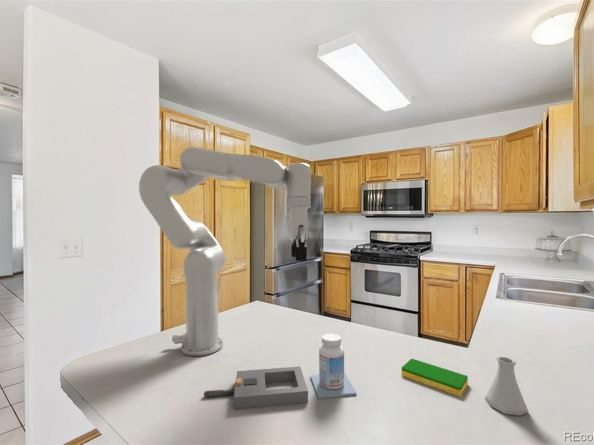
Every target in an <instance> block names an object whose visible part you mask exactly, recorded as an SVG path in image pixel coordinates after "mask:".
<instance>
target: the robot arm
mask: <svg viewBox="0 0 594 445" xmlns="http://www.w3.org/2000/svg"><path fill="white" fill-rule="evenodd" d="M179 162H180V165H181V166H180V167H179V168H177V169H174V168H171V167H169V166H166V165H151V166H149V167H148V168H146V169H145V170H144V171H143V172H142V174H141V176H140V178H139V183H138V191H139V196H140V198H141V199H140V200H141V201H142V203H143V205H144V206H145V208H146V209H147V210H148V212H149V214H151V216H152V218H153V219H154V220H155V221H156V222H155V223H157V225H158V227H159V228H160V229H161V231H162V232H163V234H164V235H165V237H166V238H167V239H168V241H169V243H170V244H171V245H172V246H173V248H175V249H178V250H188V249H189V250H190V252H188V254H187V255H186V256H185V257H184V261H183V268H182V269H183V274H184V280H185V302H186V303H185V305H186V308H185V310H186V312H185V313H186V314H185V316H186V318H185V319H186V321H185V322H186V326H185V327H186V328H185V329H186V330H185V331H186V333H183V334H174V335H172V336H171V337H172V338H171V342H172V343H173V342H174V345H176V344H177V345H179V344H181V345H180V352H181V353H182V354H183V355H186V356H191V357H199V356H200V357H202V356H207V355H211V354H213V353H216V352H218V351H219V350H221V349H222V348H223V345H224V340H223V339H222V338H220V337H219V317H218V316H219V307H218V306H219V303H218V302H219V294H218V291H219V290H218V281H217V276H216V275H217V274H216V273H217V272H219V271H221V270H222V269H223V268H224V266H225V263H226V254H225V252H224V250H223V248H222V247H221V245H220V243H219V242H218V241H217V239H216V238H215V237H214V234H212V232H211V231H210V230H209V228H208V227H207V226H206V225H205V223H203V222H201V221H199V220H197V219H196V220H195V219H190V218H189V217H188V216H187V214H186V213H185V212H184V211H183V208H182V206H181V205H180V204H179V203H178V202H177V201H176V200H175V198H173V196H180V195H181V196H182V195H184V194H185V193H187V192H190V191H191V190H192V189H193V188H195V187H197V186H199V185H200V184H202V183H203V182H205V181H206V180H207V179H209V178H212V179H217V180H222V181H229V182H231V181H235V180H238V181H239V180H240V181H241V180H243V181H249V182H254V183H259V184H264V185H266V187H267V186H268V187H269V188H271V189H282V188H283V189H285V188H286V192H285V196H286V198H285V199H286V205H285V206H286V209H288V210H289V212H288V234H287V235H288V236H287V237H288V239H289V240H290V241H291V247H290V248H291V249H290V250H291V257H292V258H295V261H296V262H306V261H307V259H308V255H307V252H308V251H307V239H308V231H309V223H308V222H309V220H308V219H309V218H308V216H309V215H308V209H311V208H312V207H311V204H312V203H311V195H312V194H311V190H312V189H311V182H312V181H311V180H312V179H311V166H310V165H309V164H307V163H304V162H293V163H290V164H288V165H287V166H284V165H282V163H281V162H279V161H278V160H276V159H273V158H269V157H263V156H259V155H253V154H246V153H245V154H240V153H239V154H238V153H229V152H224V151H218V150H213V149H208V148H202V147H196V146H191V147H186V148H185V149H183V150H182V152H181V153H180V155H179Z"/></svg>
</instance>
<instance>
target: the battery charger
mask: <svg viewBox="0 0 594 445" xmlns="http://www.w3.org/2000/svg"><path fill="white" fill-rule="evenodd" d="M290 381H294V384H295V387H283V388H273V389H272V388H271V389H267V388H266V384H267V383H276V382H278V383H280V382H290ZM203 396H204V397H205V398H209V397H222V396H233V410H240V409H241V410H242V409H250V408H251V409H252V408H260V407H263V408H264V407H273V406H284V405H293V404H304V403H309V390H308V386H307V383H306V380H305V376H304V374H303V371H302V368H301V366H300V365H299V366H287V367H286V366H285V367H277V368H276V367H274V368H262V369H261V368H260V369H248V370H237V371H236V376H235V385H234V388H227V389H225V388H224V389H216V390H215V389H214V390H213V389H212V390H205V391H204V393H203Z"/></svg>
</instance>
